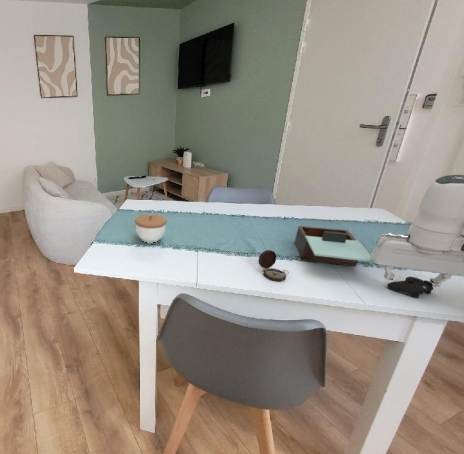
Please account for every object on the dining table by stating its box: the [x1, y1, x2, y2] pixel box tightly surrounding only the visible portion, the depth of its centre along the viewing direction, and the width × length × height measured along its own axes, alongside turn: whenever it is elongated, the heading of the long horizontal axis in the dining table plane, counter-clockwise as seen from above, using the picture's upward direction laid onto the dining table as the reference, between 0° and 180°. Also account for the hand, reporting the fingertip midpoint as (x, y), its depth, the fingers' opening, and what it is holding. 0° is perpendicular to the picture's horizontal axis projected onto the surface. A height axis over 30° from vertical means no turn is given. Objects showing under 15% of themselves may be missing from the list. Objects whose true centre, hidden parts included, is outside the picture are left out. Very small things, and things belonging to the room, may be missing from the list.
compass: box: [257, 249, 290, 282], centre depth 91 cm, size 8×8×7 cm
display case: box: [294, 225, 358, 267], centre depth 102 cm, size 15×14×7 cm
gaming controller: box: [387, 276, 434, 299], centre depth 81 cm, size 10×5×6 cm
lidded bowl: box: [134, 213, 168, 244], centre depth 118 cm, size 13×13×11 cm
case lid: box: [305, 231, 375, 263], centre depth 91 cm, size 15×14×4 cm
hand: (410, 282), depth 81 cm, fingers open, 8 cm apart
